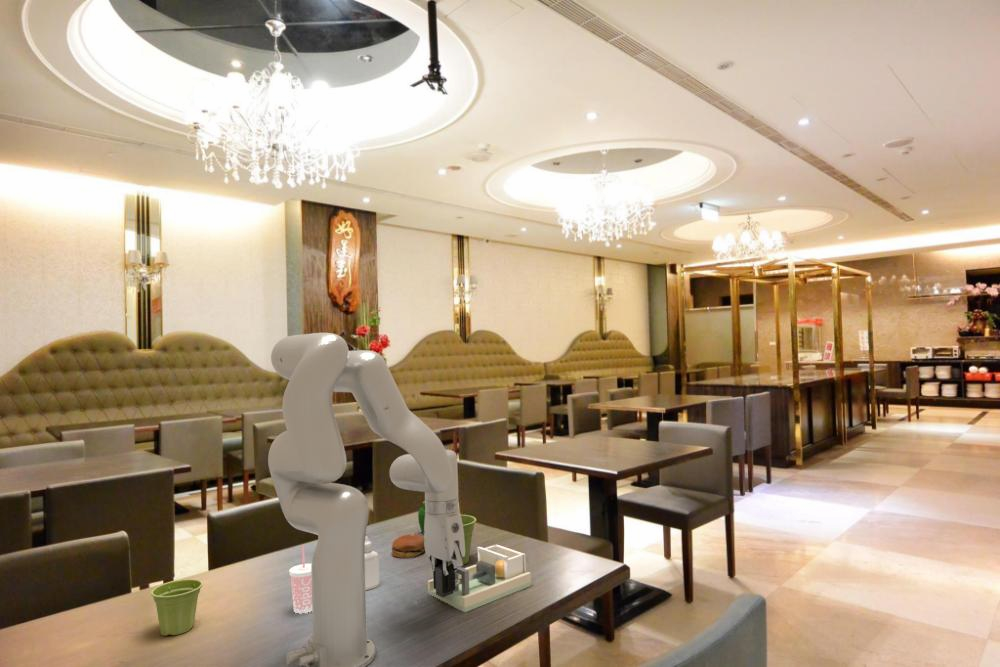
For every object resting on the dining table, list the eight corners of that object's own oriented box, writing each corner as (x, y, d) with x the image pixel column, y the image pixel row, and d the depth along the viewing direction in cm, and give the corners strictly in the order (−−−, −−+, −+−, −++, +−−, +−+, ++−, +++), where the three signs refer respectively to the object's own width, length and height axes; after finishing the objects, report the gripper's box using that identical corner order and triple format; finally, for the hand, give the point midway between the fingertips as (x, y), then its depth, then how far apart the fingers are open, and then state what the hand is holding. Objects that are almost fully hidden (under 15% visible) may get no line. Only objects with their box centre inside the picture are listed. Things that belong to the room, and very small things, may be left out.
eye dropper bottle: (378, 589, 137) (377, 538, 138) (354, 592, 136) (353, 540, 137) (380, 582, 141) (378, 533, 142) (356, 584, 140) (355, 535, 141)
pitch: (464, 612, 123) (463, 575, 123) (427, 593, 134) (426, 559, 134) (531, 585, 136) (530, 552, 137) (493, 570, 147) (492, 539, 147)
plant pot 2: (483, 565, 150) (482, 522, 151) (440, 573, 146) (438, 528, 147) (469, 552, 161) (468, 511, 162) (428, 559, 157) (427, 517, 157)
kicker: (445, 601, 125) (444, 571, 126) (432, 595, 129) (431, 565, 129) (495, 582, 135) (494, 554, 135) (481, 577, 139) (480, 550, 139)
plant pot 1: (191, 615, 126) (191, 575, 127) (210, 626, 120) (210, 584, 121) (144, 632, 119) (143, 589, 120) (162, 645, 113) (161, 600, 114)
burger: (392, 560, 157) (392, 543, 157) (391, 550, 166) (391, 533, 166) (428, 556, 159) (428, 539, 160) (425, 546, 168) (425, 530, 169)
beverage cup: (288, 617, 124) (287, 551, 124) (291, 605, 130) (289, 543, 130) (318, 613, 125) (317, 548, 126) (319, 601, 131) (318, 539, 132)
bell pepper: (448, 528, 185) (447, 497, 185) (442, 536, 177) (441, 503, 177) (422, 528, 186) (421, 497, 186) (415, 536, 178) (414, 503, 178)
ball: (513, 560, 140) (513, 577, 139) (502, 556, 143) (502, 573, 142) (501, 564, 137) (501, 581, 137) (490, 560, 140) (490, 577, 140)
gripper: (477, 509, 125) (480, 594, 125) (435, 497, 138) (437, 575, 137) (449, 516, 121) (452, 605, 120) (408, 503, 133) (410, 584, 132)
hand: (444, 588), depth 128 cm, fingers closed on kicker, 2 cm apart
